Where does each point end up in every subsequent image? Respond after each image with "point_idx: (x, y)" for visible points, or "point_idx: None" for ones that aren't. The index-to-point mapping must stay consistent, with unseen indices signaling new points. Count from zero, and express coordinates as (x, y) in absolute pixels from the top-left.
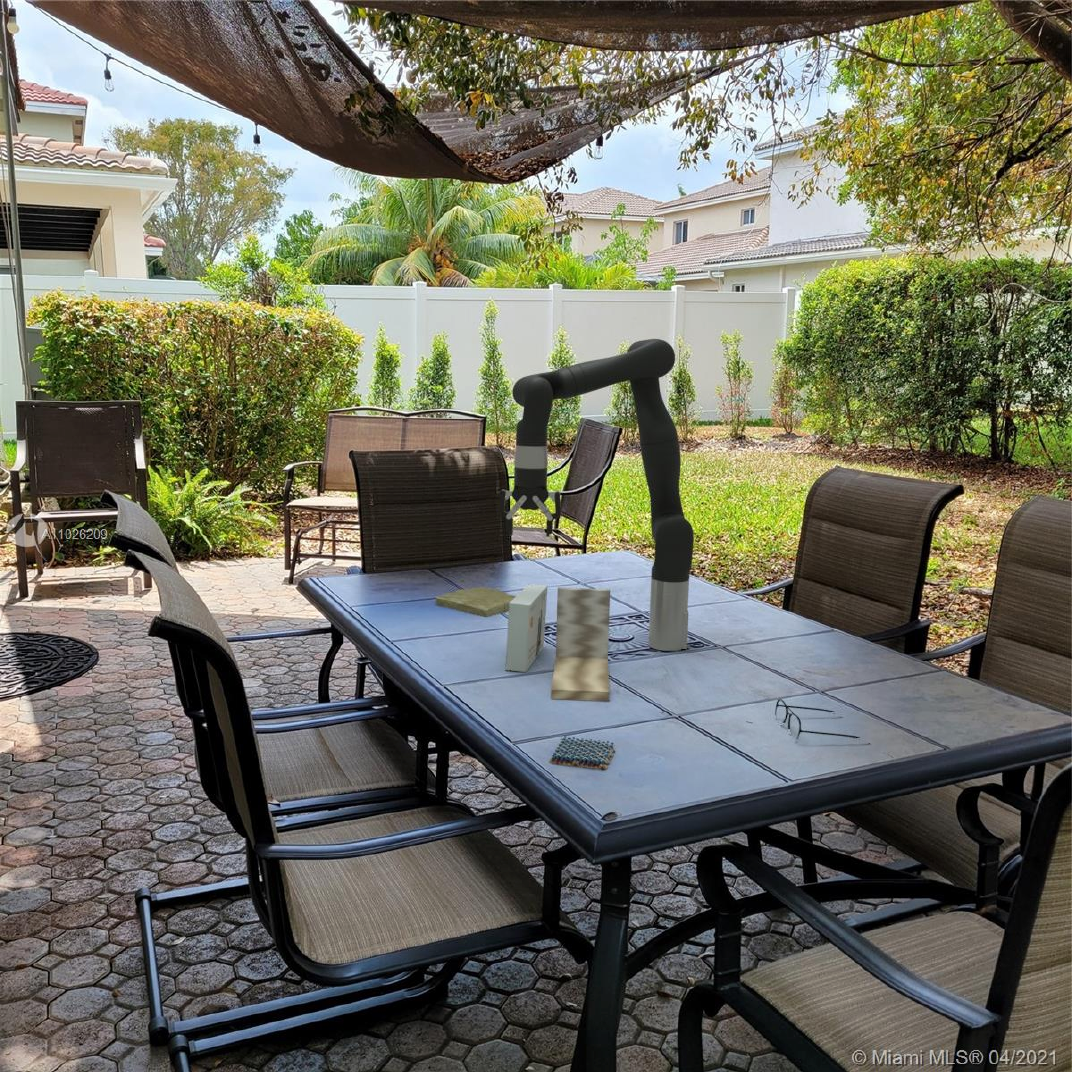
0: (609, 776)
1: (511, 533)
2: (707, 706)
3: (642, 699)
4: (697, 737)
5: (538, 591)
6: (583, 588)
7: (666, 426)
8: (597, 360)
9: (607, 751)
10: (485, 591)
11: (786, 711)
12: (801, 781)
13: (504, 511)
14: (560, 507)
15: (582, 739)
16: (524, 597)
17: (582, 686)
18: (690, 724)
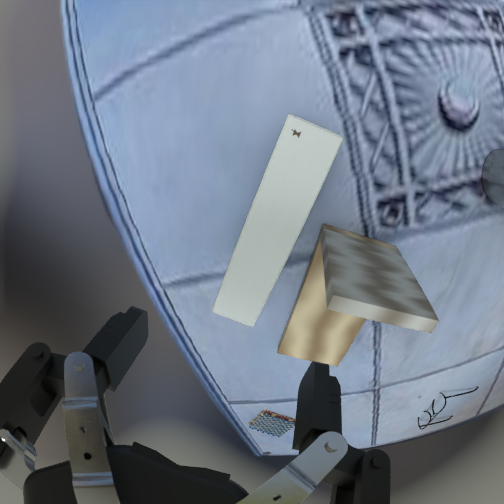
0: (280, 437)
1: (141, 345)
2: (416, 373)
3: (372, 357)
4: (365, 414)
5: (300, 211)
6: (390, 310)
7: None
8: None
9: (287, 429)
10: None
11: (434, 413)
12: (378, 445)
13: (53, 386)
14: (381, 502)
15: (276, 418)
16: (249, 274)
17: (315, 351)
18: (376, 399)
